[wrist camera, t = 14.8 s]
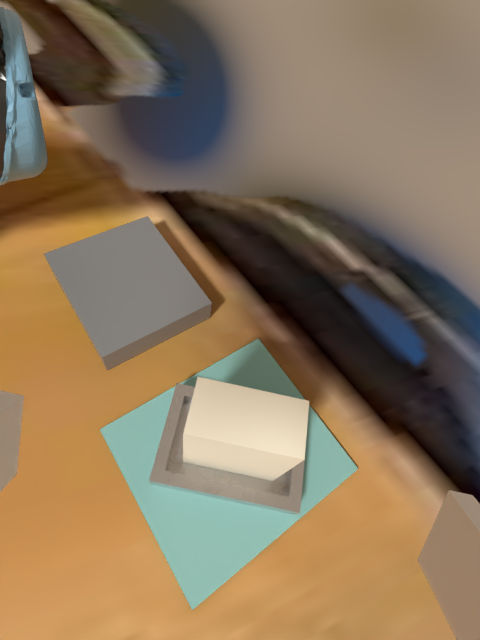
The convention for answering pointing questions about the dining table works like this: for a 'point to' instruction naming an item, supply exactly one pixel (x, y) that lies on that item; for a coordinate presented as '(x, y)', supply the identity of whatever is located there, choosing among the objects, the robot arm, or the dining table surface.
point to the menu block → (244, 430)
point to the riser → (128, 290)
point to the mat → (211, 513)
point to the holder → (213, 481)
